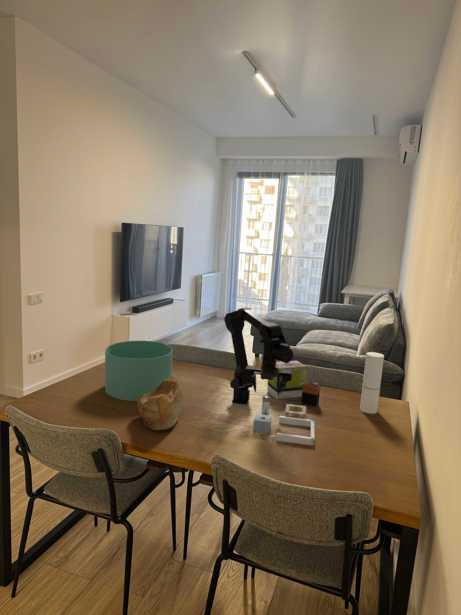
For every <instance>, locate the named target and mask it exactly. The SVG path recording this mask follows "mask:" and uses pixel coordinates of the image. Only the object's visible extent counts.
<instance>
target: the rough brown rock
mask: <svg viewBox="0 0 461 615" xmlns="http://www.w3.org/2000/svg"><path fill="white" fill-rule="evenodd" d="M182 401H183V390H182V389H181V386H180V382H179V380H178V379H177V378H175V377H174V376H173V375H172V376H170V377H169V378H168V379H166V380H164V381H163V382H162V383H161V384H160V385H159V386H158V387H157V388H156V389H155V390H153V391H151V392H149V393H146V394H144V395H142V396H141V397H140V398H139V399H138V400H137V401H136V404H137V409H138V412H139V415H140V416H141V419H142V422H143V425H144V427H146V429H147V430H153V431H166V430H168V429H169V430H170V429H171V428H172V427H174V426H175V425H176V423H177V422H178V421H177V420H178V418H179V416H180V414H181V404H182Z"/></svg>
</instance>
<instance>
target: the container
mask: <svg viewBox="0 0 461 615" xmlns="http://www.w3.org/2000/svg"><path fill="white" fill-rule="evenodd" d="M173 351H174V350H173V348H172V346H170V345H168V344H166V343H163V342H158V341H154V340H153V341H152V340H128V341H127V340H126V341H120V342H116V343H111V344H110V345H108V346H107V347H106V348H105V350H104V353H105V355H104V392H105V394H107V395H108V396H110V397H112V398H114V399H117V400H122V401H128V402H137V400H138V399H139V398H140V397H141V396H142V395H144V394H146V393H149V392H151V391H153V390H155V389H156V388H157V387H158V386H159V385H160V384H161V383H162V382H163V381H164V380H166V379H168V378H169V377H170V376H173Z"/></svg>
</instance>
